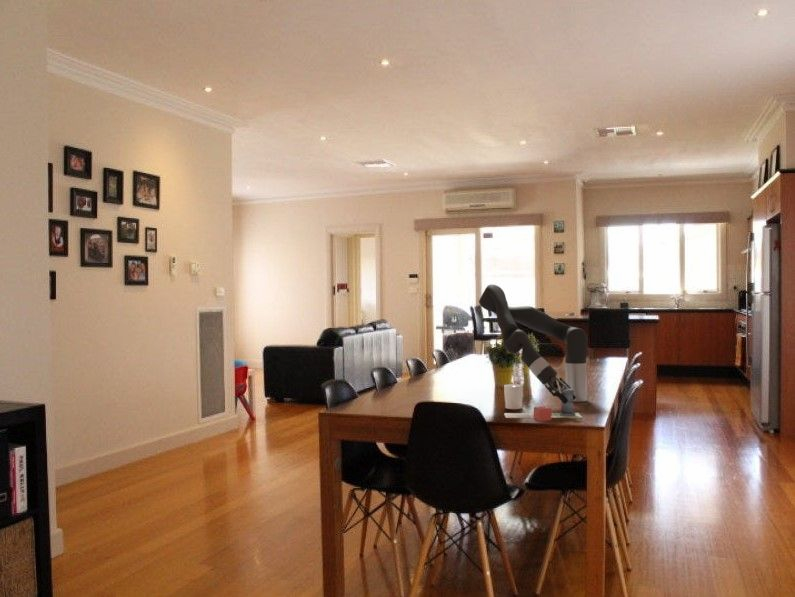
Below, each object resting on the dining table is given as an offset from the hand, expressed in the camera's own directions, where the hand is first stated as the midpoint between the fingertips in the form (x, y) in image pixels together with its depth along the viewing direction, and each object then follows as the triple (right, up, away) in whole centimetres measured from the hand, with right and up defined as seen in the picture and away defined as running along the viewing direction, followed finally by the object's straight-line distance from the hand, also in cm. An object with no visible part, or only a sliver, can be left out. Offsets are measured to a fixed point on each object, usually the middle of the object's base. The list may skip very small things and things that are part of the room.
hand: (570, 400), depth 271 cm
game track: (-11, -6, +2) cm, 13 cm away
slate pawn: (-1, -6, +1) cm, 6 cm away
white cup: (-19, -7, +21) cm, 29 cm away
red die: (-13, -7, -7) cm, 16 cm away
